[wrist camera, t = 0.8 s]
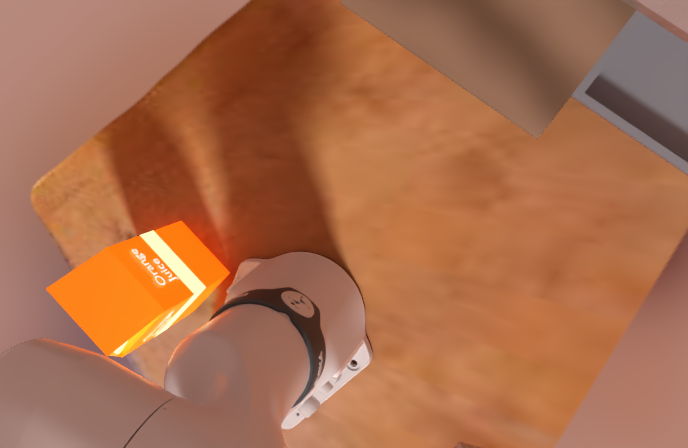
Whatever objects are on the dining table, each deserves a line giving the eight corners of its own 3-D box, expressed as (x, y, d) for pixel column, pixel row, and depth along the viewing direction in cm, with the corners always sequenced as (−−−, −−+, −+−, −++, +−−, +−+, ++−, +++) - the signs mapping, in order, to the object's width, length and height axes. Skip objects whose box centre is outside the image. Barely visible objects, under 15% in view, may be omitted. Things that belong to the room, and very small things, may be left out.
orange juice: (193, 312, 79) (85, 381, 60) (145, 260, 79) (23, 313, 60) (231, 272, 76) (132, 331, 57) (181, 218, 77) (66, 260, 58)
